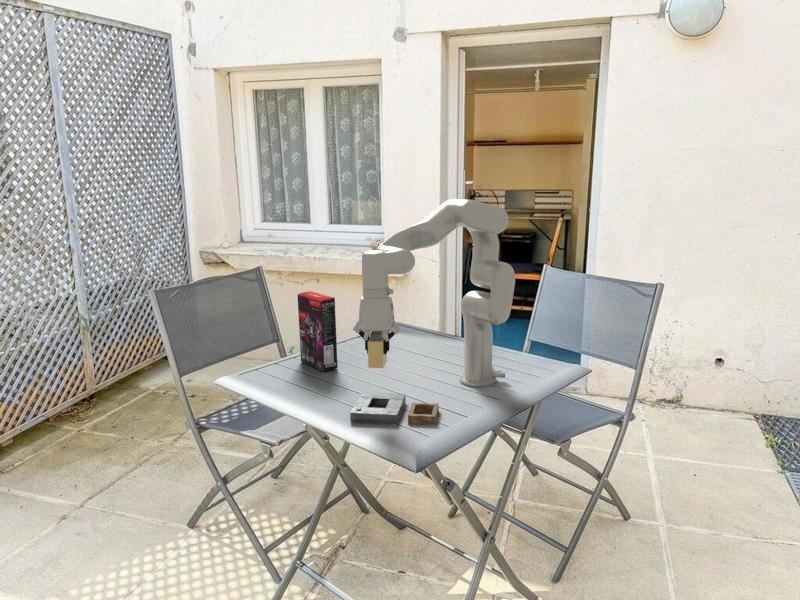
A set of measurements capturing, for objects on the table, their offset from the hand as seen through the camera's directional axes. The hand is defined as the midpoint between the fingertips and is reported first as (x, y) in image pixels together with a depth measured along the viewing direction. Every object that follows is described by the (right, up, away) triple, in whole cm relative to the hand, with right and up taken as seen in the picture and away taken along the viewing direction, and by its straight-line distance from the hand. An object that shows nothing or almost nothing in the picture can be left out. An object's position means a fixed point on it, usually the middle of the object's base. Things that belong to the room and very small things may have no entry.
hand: (377, 352), depth 179 cm
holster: (+14, -20, 0) cm, 24 cm away
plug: (0, -4, +1) cm, 4 cm away
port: (0, -19, +4) cm, 19 cm away
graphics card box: (-24, -9, +48) cm, 54 cm away
